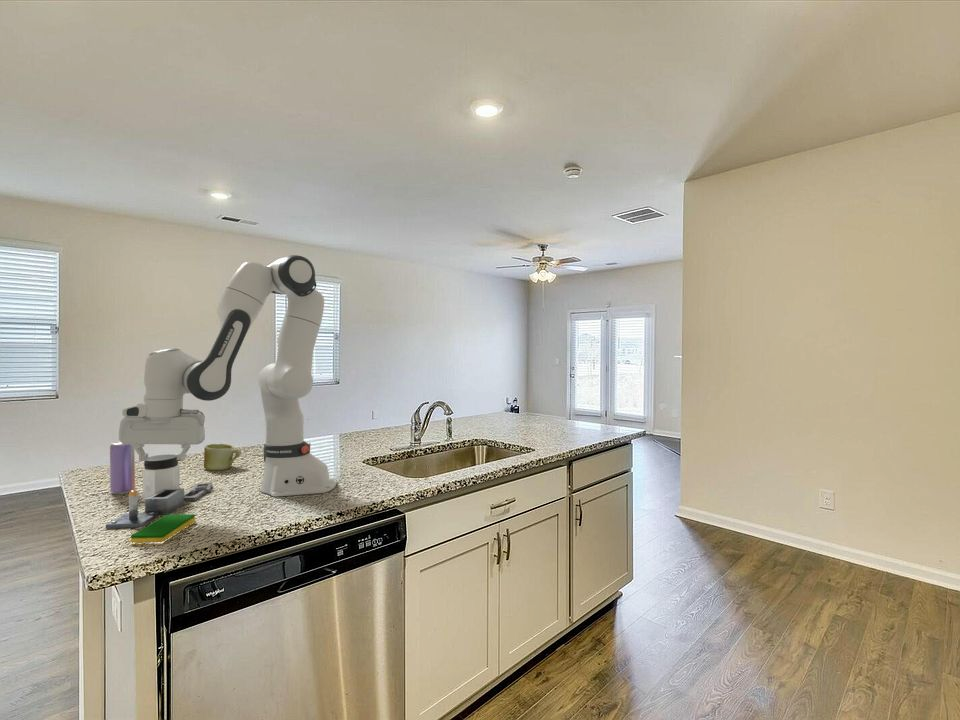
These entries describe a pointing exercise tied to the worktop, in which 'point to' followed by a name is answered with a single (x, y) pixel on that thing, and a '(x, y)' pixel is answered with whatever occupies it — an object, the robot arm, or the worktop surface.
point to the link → (165, 501)
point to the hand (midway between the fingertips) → (162, 460)
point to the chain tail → (198, 491)
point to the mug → (219, 456)
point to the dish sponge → (163, 528)
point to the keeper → (132, 515)
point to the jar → (160, 474)
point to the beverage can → (122, 468)
